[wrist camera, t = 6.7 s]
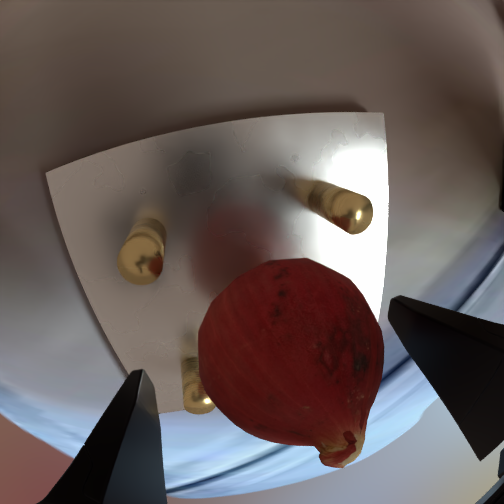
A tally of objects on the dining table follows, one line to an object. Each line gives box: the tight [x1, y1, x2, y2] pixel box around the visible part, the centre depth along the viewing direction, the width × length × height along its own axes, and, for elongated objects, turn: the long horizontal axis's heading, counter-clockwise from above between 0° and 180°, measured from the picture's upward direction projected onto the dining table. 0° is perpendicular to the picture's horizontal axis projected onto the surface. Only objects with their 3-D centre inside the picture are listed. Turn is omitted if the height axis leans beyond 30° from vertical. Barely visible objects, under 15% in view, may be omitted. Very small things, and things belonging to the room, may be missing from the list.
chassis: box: [46, 112, 388, 414], centre depth 11 cm, size 14×14×4 cm
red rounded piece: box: [198, 258, 384, 468], centre depth 8 cm, size 6×6×8 cm
